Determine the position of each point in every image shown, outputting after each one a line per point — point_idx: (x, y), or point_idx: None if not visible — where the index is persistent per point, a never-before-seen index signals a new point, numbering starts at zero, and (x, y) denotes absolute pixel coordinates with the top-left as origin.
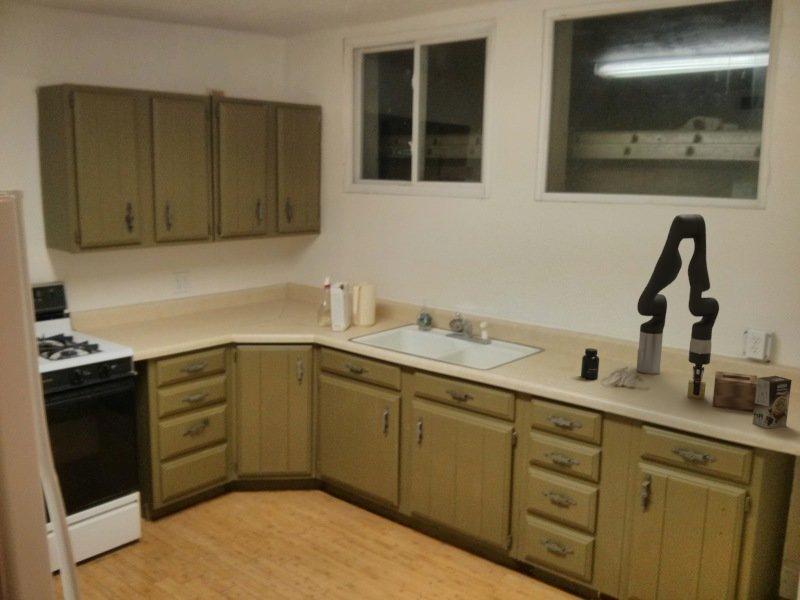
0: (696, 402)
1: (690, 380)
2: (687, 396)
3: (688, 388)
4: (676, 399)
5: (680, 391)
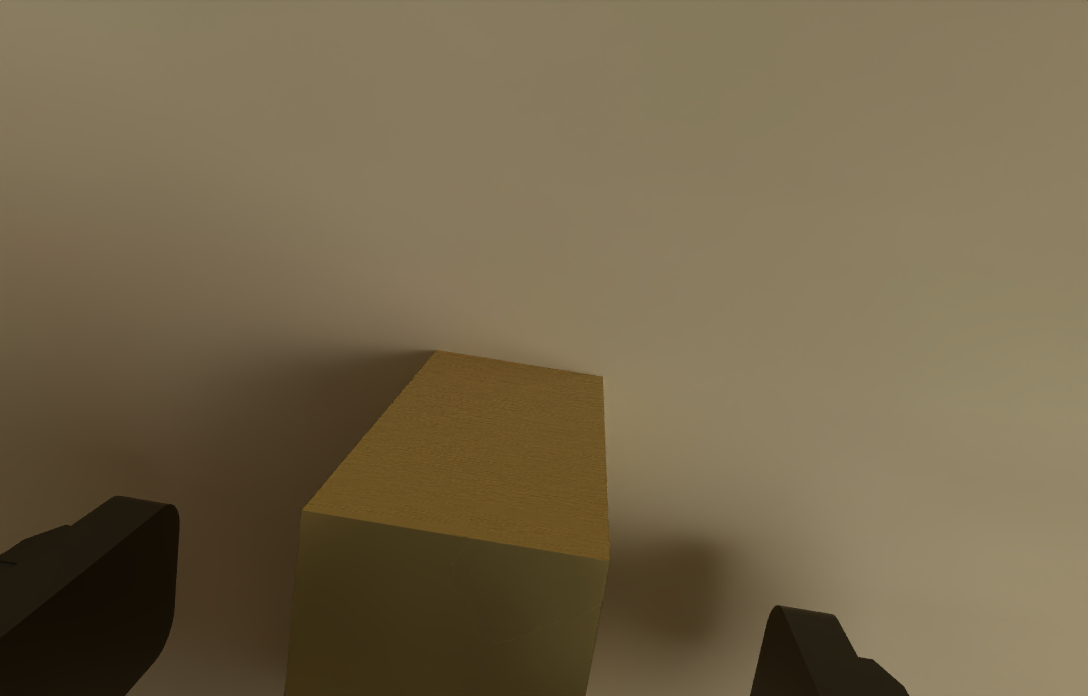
0: (46, 501)
1: (539, 616)
2: (434, 357)
3: (380, 429)
4: (90, 50)
5: (898, 231)
